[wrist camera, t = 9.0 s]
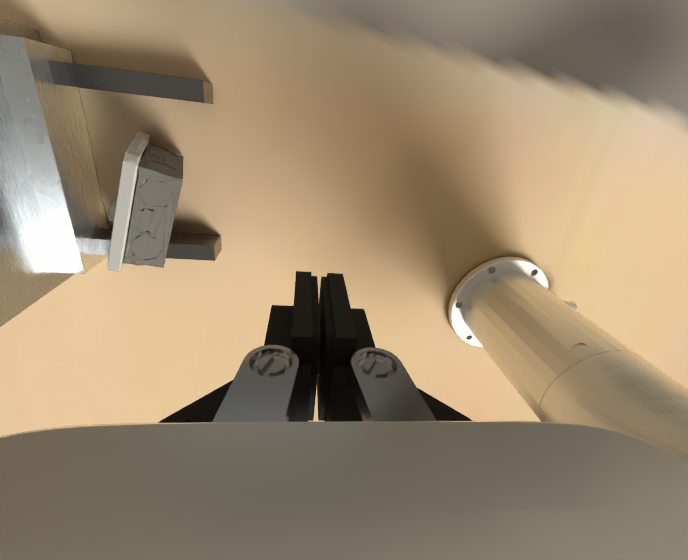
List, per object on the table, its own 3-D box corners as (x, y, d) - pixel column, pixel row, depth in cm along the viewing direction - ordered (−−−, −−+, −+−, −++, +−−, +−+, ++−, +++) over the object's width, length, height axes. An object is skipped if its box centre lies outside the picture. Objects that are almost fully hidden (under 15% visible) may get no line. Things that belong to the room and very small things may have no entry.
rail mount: (210, 55, 27) (135, 6, 15) (222, 266, 35) (180, 349, 23) (22, 28, 25) (-252, -56, 12) (82, 259, 33) (-47, 347, 21)
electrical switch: (140, 128, 29) (93, 141, 21) (202, 152, 31) (180, 172, 23) (124, 225, 32) (79, 267, 24) (181, 241, 34) (156, 285, 26)
